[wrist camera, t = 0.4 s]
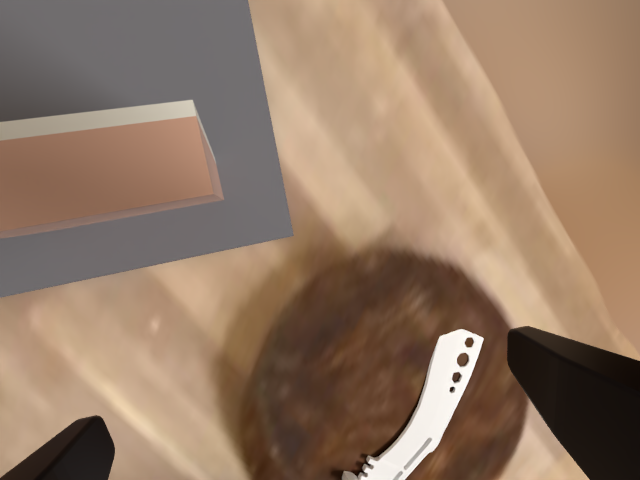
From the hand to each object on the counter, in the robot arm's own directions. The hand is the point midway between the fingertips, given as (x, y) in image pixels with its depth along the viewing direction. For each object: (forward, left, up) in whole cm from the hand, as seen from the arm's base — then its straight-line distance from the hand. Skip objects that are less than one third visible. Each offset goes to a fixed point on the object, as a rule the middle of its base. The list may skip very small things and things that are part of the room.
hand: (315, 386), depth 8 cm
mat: (+10, +6, -14) cm, 18 cm away
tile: (+6, +6, -14) cm, 16 cm away
